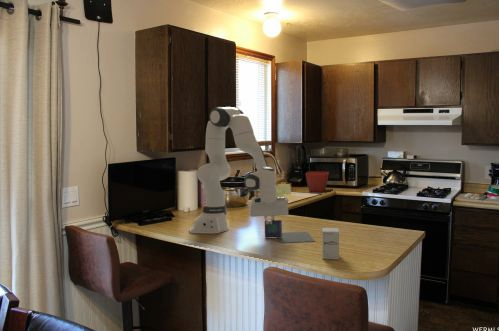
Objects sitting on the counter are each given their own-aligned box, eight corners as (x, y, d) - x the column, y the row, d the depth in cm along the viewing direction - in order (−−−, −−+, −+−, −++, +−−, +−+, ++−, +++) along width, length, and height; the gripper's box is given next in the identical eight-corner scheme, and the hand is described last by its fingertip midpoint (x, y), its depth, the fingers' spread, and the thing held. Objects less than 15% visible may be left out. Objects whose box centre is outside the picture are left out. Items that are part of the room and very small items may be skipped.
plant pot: (328, 189, 396) (328, 171, 394) (327, 193, 377) (327, 173, 376) (307, 189, 400) (307, 171, 399) (305, 192, 382) (305, 173, 380)
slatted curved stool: (291, 208, 312) (291, 183, 310) (272, 211, 303) (272, 185, 302) (268, 202, 337) (267, 179, 336) (250, 205, 329) (250, 181, 328)
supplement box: (322, 259, 191) (321, 231, 190) (322, 254, 199) (322, 227, 197) (339, 260, 190) (339, 231, 189) (338, 255, 197) (338, 227, 196)
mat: (279, 243, 220) (279, 242, 220) (274, 233, 240) (274, 233, 240) (315, 241, 221) (315, 241, 221) (307, 232, 241) (307, 231, 241)
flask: (282, 237, 230) (281, 216, 231) (281, 237, 227) (280, 216, 229) (265, 237, 232) (265, 217, 234) (264, 237, 229) (263, 217, 231)
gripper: (287, 196, 231) (287, 221, 232) (248, 197, 230) (249, 223, 231) (289, 198, 225) (289, 224, 226) (249, 199, 224) (250, 226, 225)
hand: (269, 224), depth 229 cm, fingers closed
